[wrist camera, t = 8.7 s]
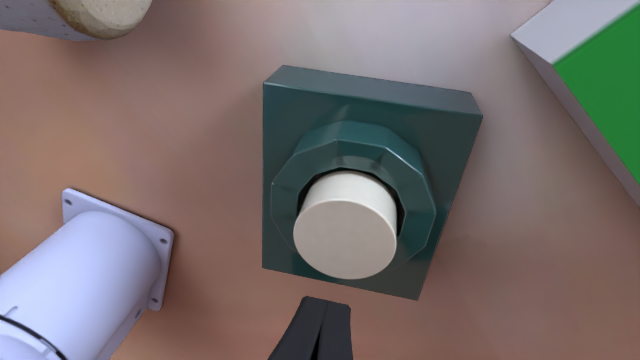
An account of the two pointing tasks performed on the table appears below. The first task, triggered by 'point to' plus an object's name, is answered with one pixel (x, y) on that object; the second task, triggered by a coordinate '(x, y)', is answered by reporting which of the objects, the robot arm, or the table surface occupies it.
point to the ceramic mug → (73, 17)
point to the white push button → (347, 225)
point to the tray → (593, 74)
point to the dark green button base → (364, 161)
